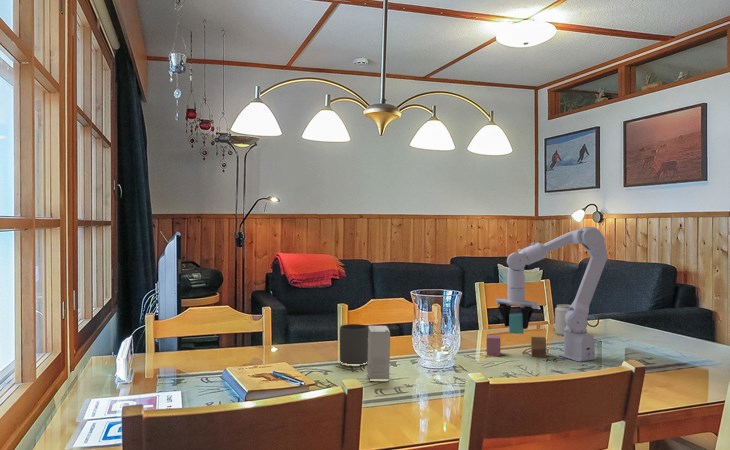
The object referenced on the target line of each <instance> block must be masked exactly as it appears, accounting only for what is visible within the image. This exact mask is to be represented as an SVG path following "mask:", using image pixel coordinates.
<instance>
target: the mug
mask: <svg viewBox="0 0 730 450" xmlns="http://www.w3.org/2000/svg"><path fill="white" fill-rule="evenodd" d="M340 361H341V362H343V363H347V364H363V363H366V362H367V361H368V326H367V325H365V324H359V323H358V324H357V323H351V324H349V323H348V324H343V325H340V327H339V362H340Z"/></svg>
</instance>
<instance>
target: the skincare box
mask: <svg viewBox="0 0 730 450" xmlns="http://www.w3.org/2000/svg"><path fill="white" fill-rule="evenodd" d="M367 327H368V362H367V365H366V366H367V367H366V368H367V369H366V370H367V371H366V374H367V373H368V375H369V377H368V379H369V378H370V379H389V380H390V367H391V366H390V364H391V363H390V361H391V360H390V357H391V356H390V355H391V331H390V329H389V327H388V326H387V325H368V326H367ZM368 375H367V376H368Z"/></svg>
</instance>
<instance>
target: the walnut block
mask: <svg viewBox="0 0 730 450" xmlns="http://www.w3.org/2000/svg"><path fill="white" fill-rule="evenodd" d="M530 341H531V343H530V347H531V350H530V355H531V357H532V358H542V359H543V358H547V339H546V337H545V336H531V338H530Z"/></svg>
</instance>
